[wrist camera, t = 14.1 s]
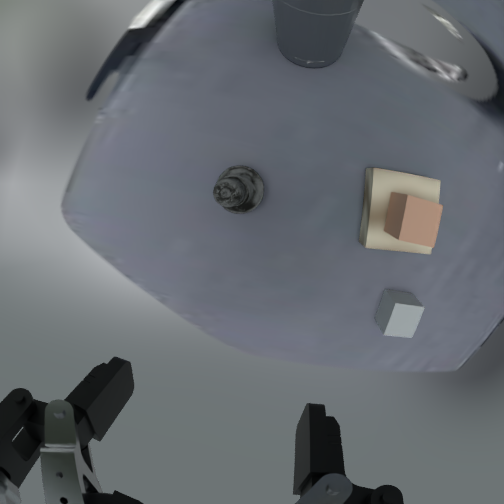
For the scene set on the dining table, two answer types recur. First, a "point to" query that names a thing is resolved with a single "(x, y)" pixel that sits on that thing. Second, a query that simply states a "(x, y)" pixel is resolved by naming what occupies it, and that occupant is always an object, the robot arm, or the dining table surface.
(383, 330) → the grey cube
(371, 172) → the birch block
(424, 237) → the terracotta cube
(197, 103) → the dining table surface
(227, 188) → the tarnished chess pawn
